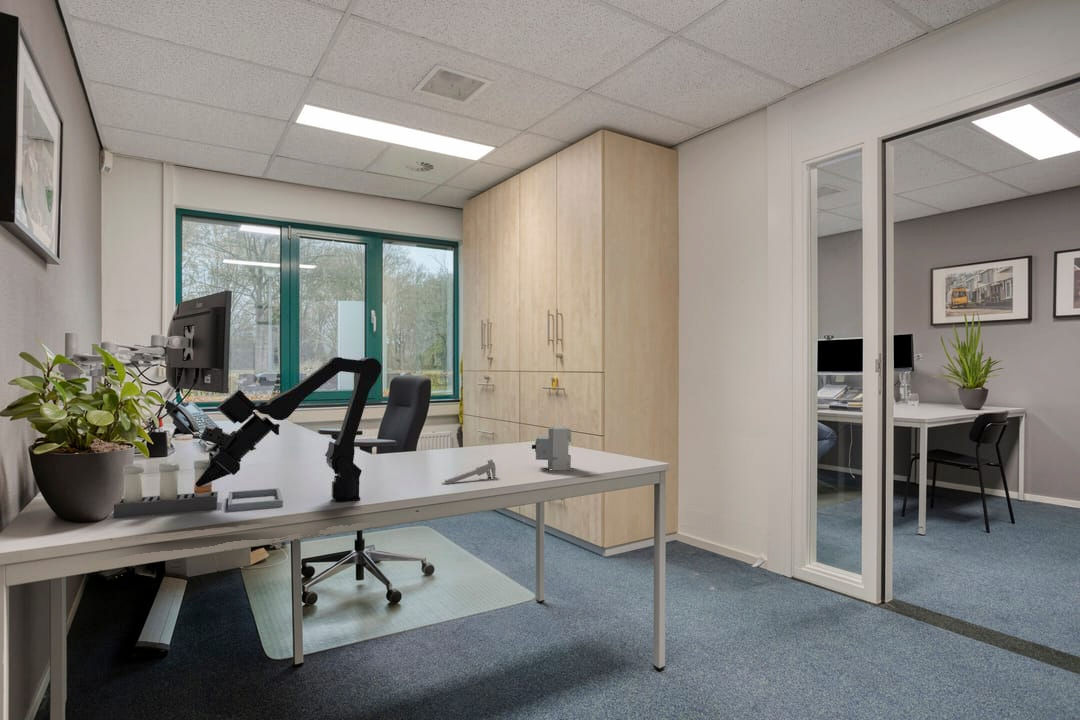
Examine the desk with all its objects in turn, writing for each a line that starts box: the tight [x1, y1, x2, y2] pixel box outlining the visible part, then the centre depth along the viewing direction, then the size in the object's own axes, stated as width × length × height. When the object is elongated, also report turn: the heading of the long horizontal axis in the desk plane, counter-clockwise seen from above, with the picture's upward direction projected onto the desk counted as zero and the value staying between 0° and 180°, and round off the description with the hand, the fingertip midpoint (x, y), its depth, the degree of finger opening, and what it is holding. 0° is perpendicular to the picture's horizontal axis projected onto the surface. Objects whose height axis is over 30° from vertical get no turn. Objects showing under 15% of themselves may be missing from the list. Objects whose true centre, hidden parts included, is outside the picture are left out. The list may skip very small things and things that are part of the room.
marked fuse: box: [193, 459, 213, 498], centre depth 140 cm, size 4×4×11 cm
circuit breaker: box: [531, 425, 572, 471], centre depth 210 cm, size 8×14×15 cm, turn 88°
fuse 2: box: [158, 462, 180, 500], centre depth 136 cm, size 4×4×11 cm
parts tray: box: [227, 487, 284, 512], centre depth 146 cm, size 12×15×3 cm
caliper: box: [441, 459, 497, 485], centre depth 186 cm, size 20×1×6 cm, turn 132°
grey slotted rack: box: [106, 491, 223, 521], centre depth 136 cm, size 22×8×4 cm, turn 118°
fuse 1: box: [122, 463, 145, 503], centre depth 133 cm, size 4×4×11 cm
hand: (196, 484), depth 139 cm, fingers closed on marked fuse, 4 cm apart
